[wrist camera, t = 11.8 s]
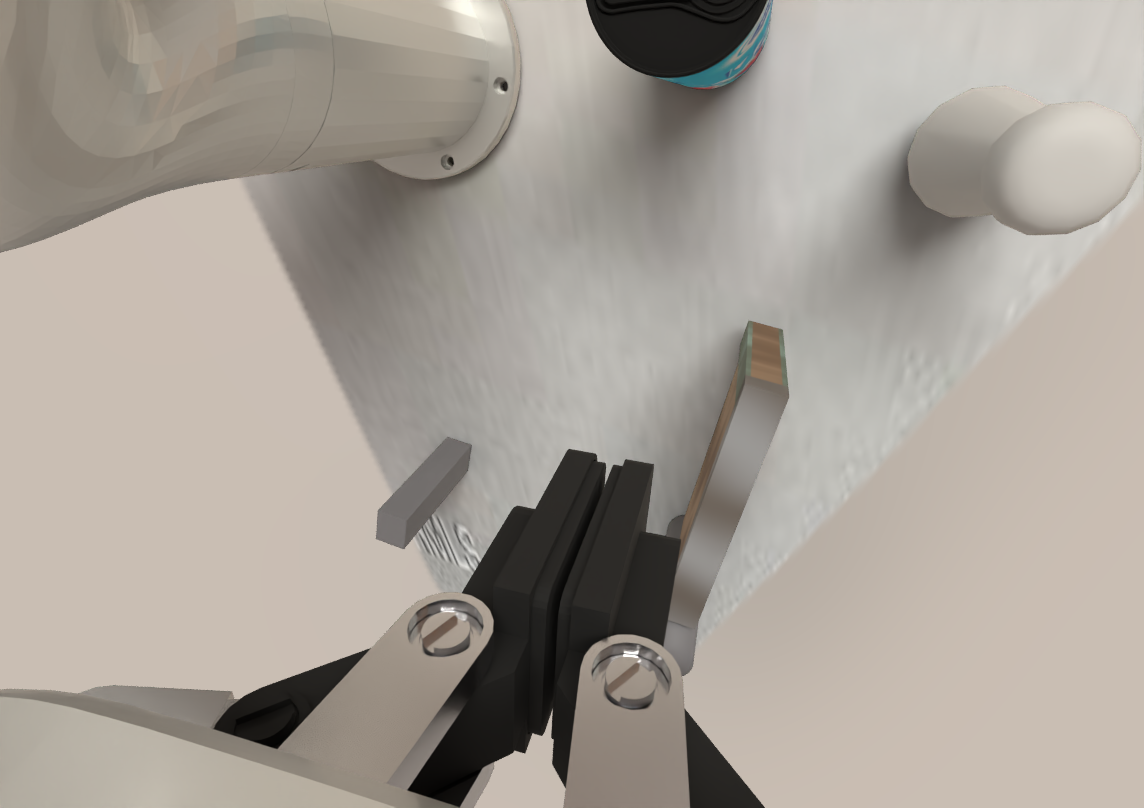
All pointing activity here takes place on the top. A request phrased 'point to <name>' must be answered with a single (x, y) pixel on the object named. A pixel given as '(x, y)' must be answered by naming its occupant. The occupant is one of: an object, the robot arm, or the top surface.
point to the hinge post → (677, 635)
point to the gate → (730, 468)
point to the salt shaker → (1024, 160)
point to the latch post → (422, 493)
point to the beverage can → (684, 37)
